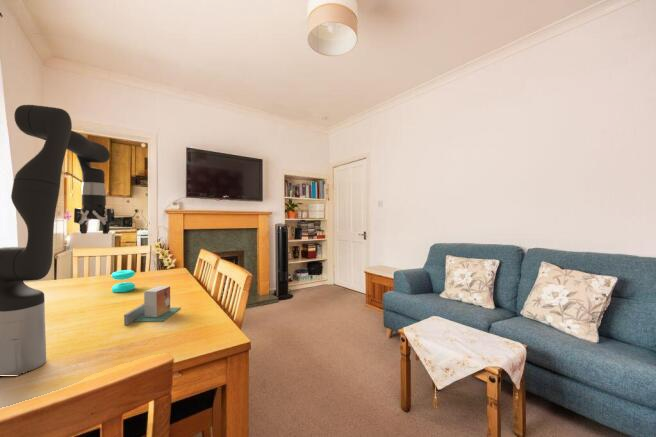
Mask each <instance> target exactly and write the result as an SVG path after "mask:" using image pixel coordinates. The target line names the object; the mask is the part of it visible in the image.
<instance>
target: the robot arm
mask: <svg viewBox="0 0 656 437" xmlns="http://www.w3.org/2000/svg"><path fill="white" fill-rule="evenodd" d="M14 122H15V124H16V126H17V128H18V129H19V130H20V131H21V132H22V133H24V134H25V135H28V136H30V137H33V138H38V139H41V140H43V141H44V144H43V146H42V148H41V149H40V150H39V151H38V153H37V154H35V156H34V157H32V158H30V160H29V161H27V162H26V163H25V164H24V165H23V166H22V167H20V168H19V170H18V171H17V172H16V173H15V175H14V178H13V183H12V189H11V194H10V198H11V201H12V204H13V206H14V207H15V208H14V209H16V211H17V212H18V214H19V215H20V217H21V218H22V220H23V221H24V223H25V225H26V229H27V242H26V246H5V247H0V375H19V374H20V373H23V372H26V373H28V372H27V371H29V372H31V371H33V370H36V369H38V368H40V367H41V366H43V365H44V364H45V363H46V362H47V344H46V342H47V339H46V338H47V337H46V311H45V309H46V308H45V301H46V300H45V293H44V292H43V291H42V290H39V289H36V288H33V287H30V286H28V285H27V284H26V283H25V281H26V282H28V281H31V282H32V281H40V280H42V279H44V278H45V277H46V276H47V275H48V274H49V272H50V271H51V268H52V265H53V264H52V263H53V257H54V256H53V255H54V230H55V228H54V227H55V218H56V213H57V212H56V211H57V206H58V205H57V204H58V201H59V196H60V189H61V182H62V180H61V178H62V172H63V166H64V161H65V160H64V159H65V157H66V152H67V151H69V152H71V153H73V154H75V156H76V159H77V161H78V163H79V166H80V170H81V179H82V180H81V182H82V184H81V205H82V207H78V208H77V207H75V208H74V210H73V213H74V214H73V222H74V223H75V224H79V232H80V234H84V235H85V234H87V233H88V226H87V225H88V224H87V223H88V222H89V221H91V220H93V219H94V220H99V221H100V222H101V223H102V224H103V225H102V234H103V235H107V234H109V233H110V225H111V224H114V223H115V222H116V220H115V208H106V206H107V194H106V192H107V190H106V185H105V184H106V180H105V179H106V178H105V177H106V176H105V175H106V174H105V171H104V170H103V169H101V168H98V167H93V166H92V165H91V163H93V164H94V163H96V164H97V163H98V164H104V163H106V162H109V160H110V158H111V154H110V150H109V149H108V148H107V147H106V146H105V145H104V144H102V143H98V142H96V141H93V140H90V139H89V138H87V137H86V136H85V135H82V134H81V133H78V132H76V131H74V130H72V127H73V125H72V123H73V122H72V118H71V116H70V114H69V113H68V112H67V111H66V110H65V109H63V108H60V107H59V108H58V107H54V106H53V107H52V106H44V105H34V104H22V105H20V106H18V107H17V108H16V109H15V111H14ZM30 370H31V371H30ZM23 374H24V373H23ZM20 375H21V374H20ZM20 375H19V376H20Z"/></svg>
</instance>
